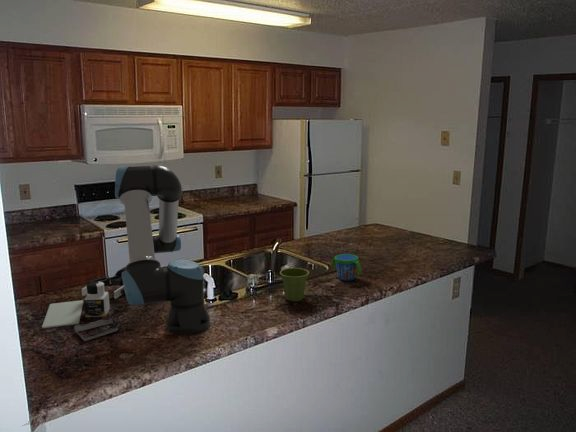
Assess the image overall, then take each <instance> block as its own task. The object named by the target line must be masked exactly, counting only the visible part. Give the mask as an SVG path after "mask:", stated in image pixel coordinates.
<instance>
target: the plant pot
mask: <svg viewBox="0 0 576 432" xmlns="http://www.w3.org/2000/svg"><path fill="white" fill-rule="evenodd" d="M279 274H280V275H281V280H282V283H283V284H282V286H283V291H284V296H285V299H286V300H287V301H289V302H295V303H296V302H301V301H302V300H303V299H304V296H305V290H306V285H307V284H306V283H307V281H308V277H309V274H310V271H309V270H307V269H305V268H301V267H288V268H284V269H281V270H280V271H279Z"/></svg>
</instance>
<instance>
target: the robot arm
mask: <svg viewBox="0 0 576 432" xmlns="http://www.w3.org/2000/svg"><path fill="white" fill-rule="evenodd" d="M114 183H115V185H114V197H115V198H116V199H119V202H120V204H122V206H124V213H125V214H124V216H125V223H126V225H125V226H126V235H127V236H126V237H127V238H126V239H127V246H128V247H127V248H128V259H129V262H128V263H127V264H126V265H125V266H123V267H122V268H121V269H119V270H117V271H116V273H115V275H112V276H110V277H109V275H104V276H102V277H98V278H95V279H92V280H88V281H86V286H84V287H82V288H81V297H84V296H87V285H88V284H89V283H91V282H95V281H99V282H103V283H104V287H114V286H116V287H118V286H120V287H118V288H117V289H116V290H114V291H113V297H114V299H118V298H119V297H120V296H122V295H124V294H125V298H126V301H127V303H128V305H130V306H141V305H142V306H145V305H149V304H156V303H157V304H158V303H164V302H169V303H170V305H169V306H170V308H169V310H168V315H167V318H166V330H167V331H168V332H169V333H172V334H174V335H185V336H187V335H194V334H198V333H201V332H204V331H205V330H208V328H209V327H210V326H211V319H210V315H209V313H208V312H209V311H208V309H207V308H206V305H205V293H204V292H205V291H204V278H205V277H204V272H203V266H202V265H201V264H199V263H198V262H195V261H193V260H188V259H187V260H185V259H175V260H171V261H169V262H168V264H167V266H165V267H162V266H161V262H160V261H159V260H157V259H156V255H155V254H164V253H173V252H179V251H181V249H182V241H181V239H182V238H181V235H180V234H177V233H178V218H179V217H178V216H179V214H178V213H179V204H180V203H179V202H180V201H179V200H181V198H182V193H183V189H182V184H181V182H180V180H179V177H178V176H177V175H176V173H174V172H173V171H172V170H171V169H169V168H168V167H166V166H164V165H159V164H154V165H139V166H131V165H127V166H120V167H118V168H117V169H116V171H115V180H114ZM153 197H157V198H158V200H159V203H158V204H159V205H158V207H159V209H158V235H156V236H154V235H153V230H152V229H153V228H152V220H151V214H150V213H151V212H150V205H149V204H150V203H151V202H152V201H153Z"/></svg>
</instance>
